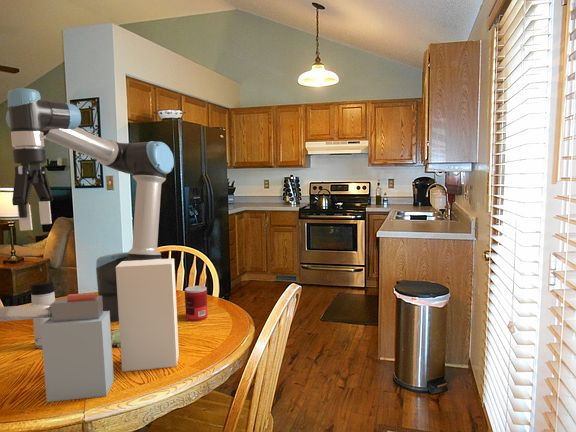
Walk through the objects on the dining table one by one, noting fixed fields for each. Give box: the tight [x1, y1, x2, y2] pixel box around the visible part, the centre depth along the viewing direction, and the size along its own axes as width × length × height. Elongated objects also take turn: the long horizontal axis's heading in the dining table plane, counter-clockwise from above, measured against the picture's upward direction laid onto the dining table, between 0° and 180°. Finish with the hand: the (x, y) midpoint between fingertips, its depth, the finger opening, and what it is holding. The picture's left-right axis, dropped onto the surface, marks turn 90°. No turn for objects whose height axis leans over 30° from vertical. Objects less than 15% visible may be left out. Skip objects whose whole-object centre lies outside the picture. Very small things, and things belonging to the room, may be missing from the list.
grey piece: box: [0, 292, 103, 322], centre depth 103 cm, size 4×22×6 cm, turn 100°
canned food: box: [184, 285, 209, 322], centre depth 159 cm, size 8×8×11 cm
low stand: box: [41, 311, 115, 403], centre depth 105 cm, size 8×13×18 cm, turn 100°
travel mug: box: [30, 281, 56, 350], centre depth 135 cm, size 6×7×20 cm
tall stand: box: [116, 257, 180, 372], centre depth 120 cm, size 8×14×28 cm, turn 100°
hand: (36, 227), depth 120 cm, fingers open, 13 cm apart
